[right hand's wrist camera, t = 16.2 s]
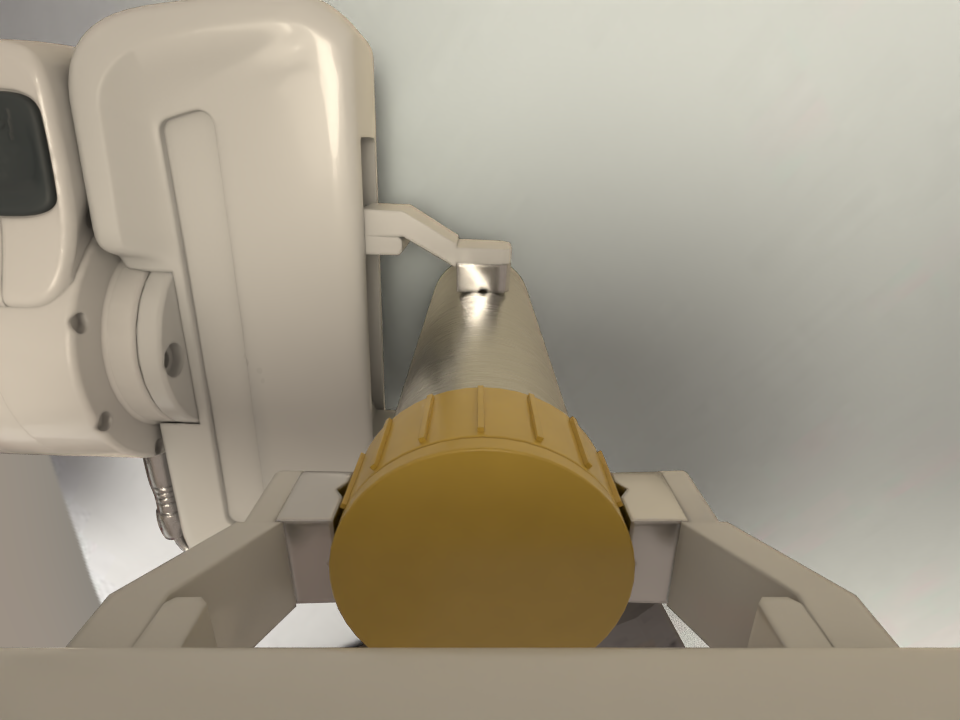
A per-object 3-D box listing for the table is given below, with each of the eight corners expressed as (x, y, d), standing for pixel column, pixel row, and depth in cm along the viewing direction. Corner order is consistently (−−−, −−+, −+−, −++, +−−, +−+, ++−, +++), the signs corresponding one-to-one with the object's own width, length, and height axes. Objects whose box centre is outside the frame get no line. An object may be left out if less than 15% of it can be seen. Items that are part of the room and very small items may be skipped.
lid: (649, 419, 10) (692, 489, 8) (562, 616, 12) (579, 713, 10) (383, 352, 10) (356, 408, 8) (334, 569, 11) (303, 660, 9)
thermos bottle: (519, 355, 25) (576, 658, 10) (427, 341, 25) (349, 632, 10) (536, 264, 23) (635, 466, 9) (439, 249, 23) (366, 430, 8)
